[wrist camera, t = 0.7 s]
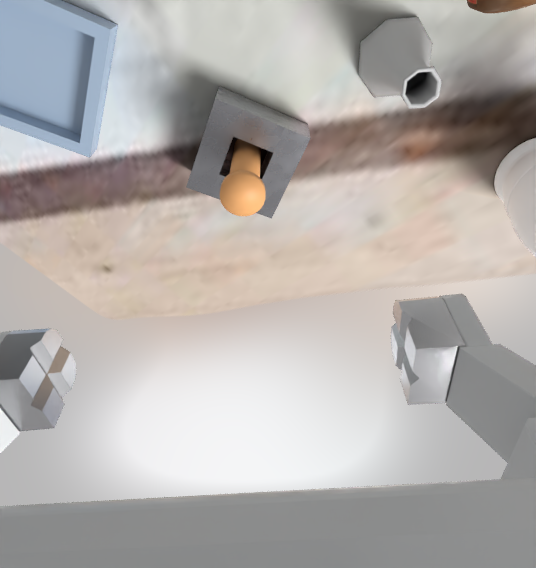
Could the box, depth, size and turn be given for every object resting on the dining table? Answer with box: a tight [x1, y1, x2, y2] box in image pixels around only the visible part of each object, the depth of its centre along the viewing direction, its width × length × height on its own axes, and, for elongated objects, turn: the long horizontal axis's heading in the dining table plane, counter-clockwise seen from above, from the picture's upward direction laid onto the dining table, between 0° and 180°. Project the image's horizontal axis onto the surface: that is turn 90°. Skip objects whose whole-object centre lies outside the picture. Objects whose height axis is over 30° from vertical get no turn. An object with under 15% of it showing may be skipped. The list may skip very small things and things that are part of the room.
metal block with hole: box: [187, 86, 310, 218], centre depth 47 cm, size 10×10×4 cm
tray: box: [0, 0, 118, 157], centre depth 42 cm, size 13×13×2 cm
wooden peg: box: [220, 139, 266, 216], centre depth 44 cm, size 4×4×11 cm
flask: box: [359, 17, 442, 109], centre depth 39 cm, size 7×7×10 cm
